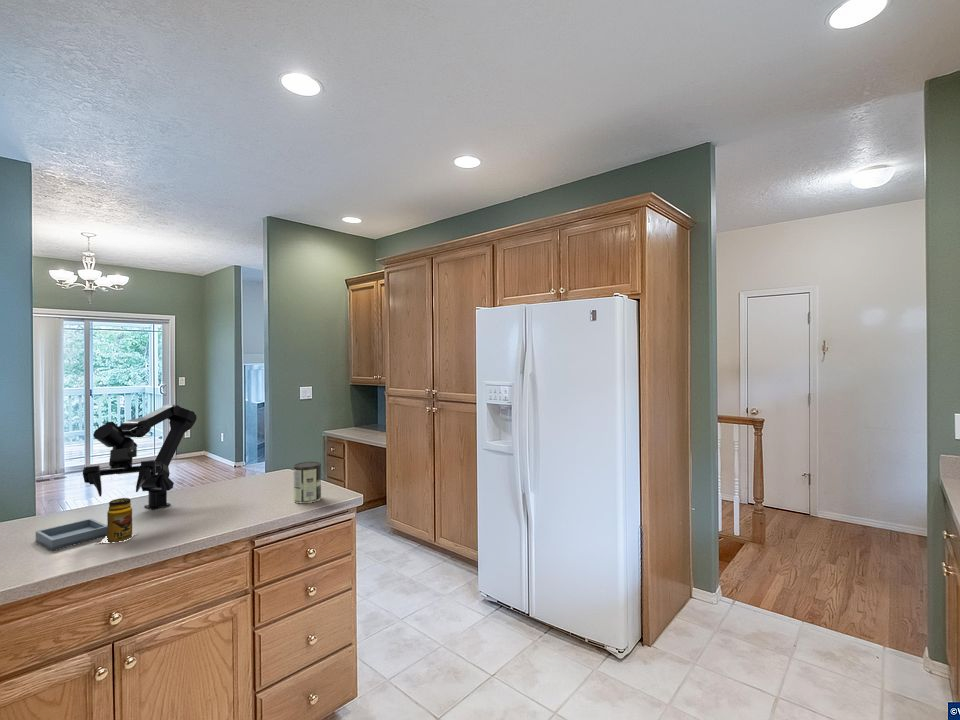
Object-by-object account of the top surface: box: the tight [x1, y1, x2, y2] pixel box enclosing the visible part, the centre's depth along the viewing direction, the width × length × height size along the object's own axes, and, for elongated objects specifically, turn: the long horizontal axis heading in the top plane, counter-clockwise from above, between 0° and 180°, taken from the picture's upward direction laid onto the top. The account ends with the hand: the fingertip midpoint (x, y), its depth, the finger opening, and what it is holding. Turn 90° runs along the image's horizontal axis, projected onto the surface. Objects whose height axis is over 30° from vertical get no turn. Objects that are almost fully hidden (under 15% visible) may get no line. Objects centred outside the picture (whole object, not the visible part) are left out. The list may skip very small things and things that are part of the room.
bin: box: [35, 518, 107, 552], centre depth 142 cm, size 14×14×3 cm
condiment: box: [100, 497, 139, 545], centre depth 142 cm, size 7×8×12 cm
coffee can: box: [292, 461, 322, 504], centre depth 182 cm, size 10×10×14 cm
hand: (118, 493), depth 147 cm, fingers open, 9 cm apart
